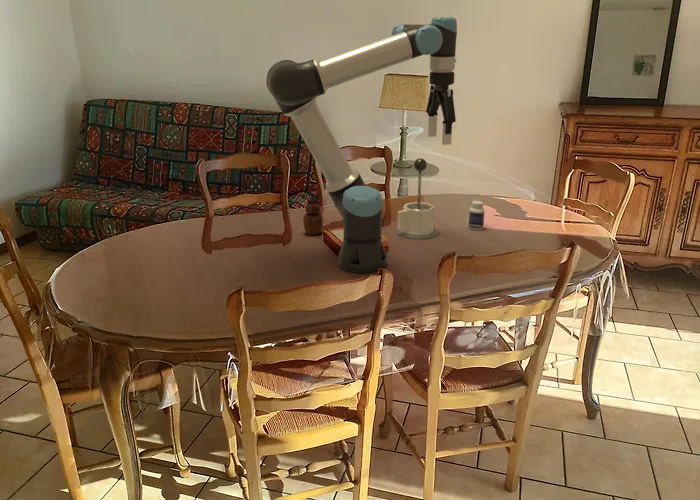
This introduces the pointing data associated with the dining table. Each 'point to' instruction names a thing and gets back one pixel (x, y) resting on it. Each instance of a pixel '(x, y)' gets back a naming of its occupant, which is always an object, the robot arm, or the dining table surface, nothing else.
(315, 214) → the wooden figurine
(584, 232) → the dining table surface
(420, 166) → the plunger
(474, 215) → the pill bottle
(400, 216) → the white faceted cup
